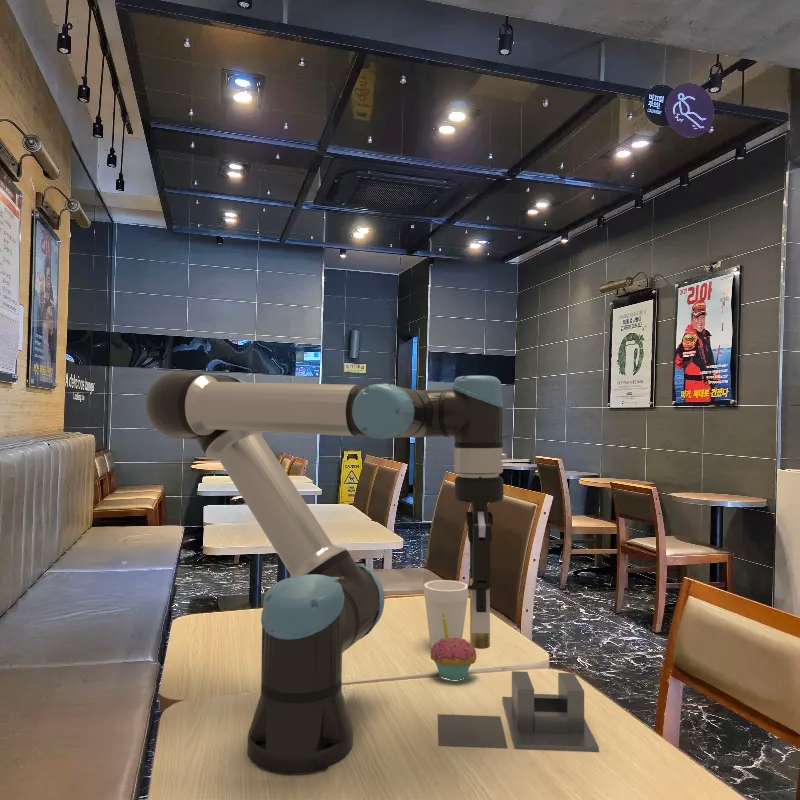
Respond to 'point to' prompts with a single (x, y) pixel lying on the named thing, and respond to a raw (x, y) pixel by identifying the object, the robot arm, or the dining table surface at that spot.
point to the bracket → (548, 716)
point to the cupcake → (452, 656)
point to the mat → (471, 731)
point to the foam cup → (445, 608)
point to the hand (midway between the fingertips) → (480, 628)
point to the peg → (477, 638)
